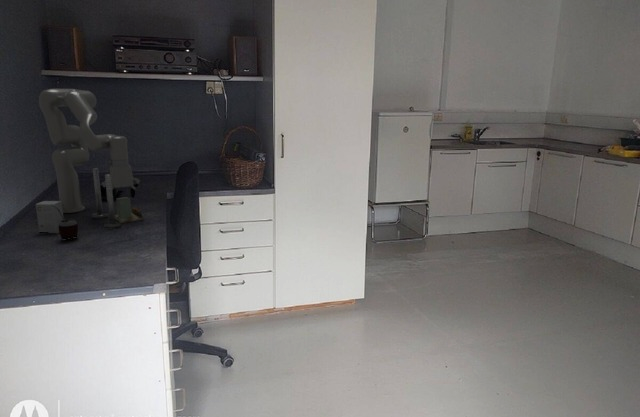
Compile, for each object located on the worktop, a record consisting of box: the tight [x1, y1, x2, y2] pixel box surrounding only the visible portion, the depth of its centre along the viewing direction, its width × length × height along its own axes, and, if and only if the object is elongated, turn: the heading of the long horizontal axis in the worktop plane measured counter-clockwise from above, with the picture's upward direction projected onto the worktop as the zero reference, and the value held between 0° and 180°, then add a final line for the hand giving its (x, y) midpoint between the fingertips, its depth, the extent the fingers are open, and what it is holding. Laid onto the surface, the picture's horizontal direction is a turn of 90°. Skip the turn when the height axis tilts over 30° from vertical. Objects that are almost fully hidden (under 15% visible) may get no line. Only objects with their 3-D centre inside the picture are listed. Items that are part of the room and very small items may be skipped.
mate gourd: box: [51, 204, 79, 240], centre depth 198 cm, size 8×8×15 cm
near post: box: [103, 173, 122, 229], centre depth 215 cm, size 7×7×24 cm
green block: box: [115, 196, 132, 219], centre depth 229 cm, size 5×5×9 cm
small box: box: [35, 200, 65, 234], centre depth 208 cm, size 8×6×13 cm
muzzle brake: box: [100, 184, 121, 201], centre depth 276 cm, size 10×28×10 cm, turn 15°
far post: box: [91, 167, 109, 220], centre depth 230 cm, size 7×7×24 cm
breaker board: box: [115, 207, 144, 224], centre depth 231 cm, size 10×12×4 cm
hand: (122, 198), depth 228 cm, fingers open, 9 cm apart
